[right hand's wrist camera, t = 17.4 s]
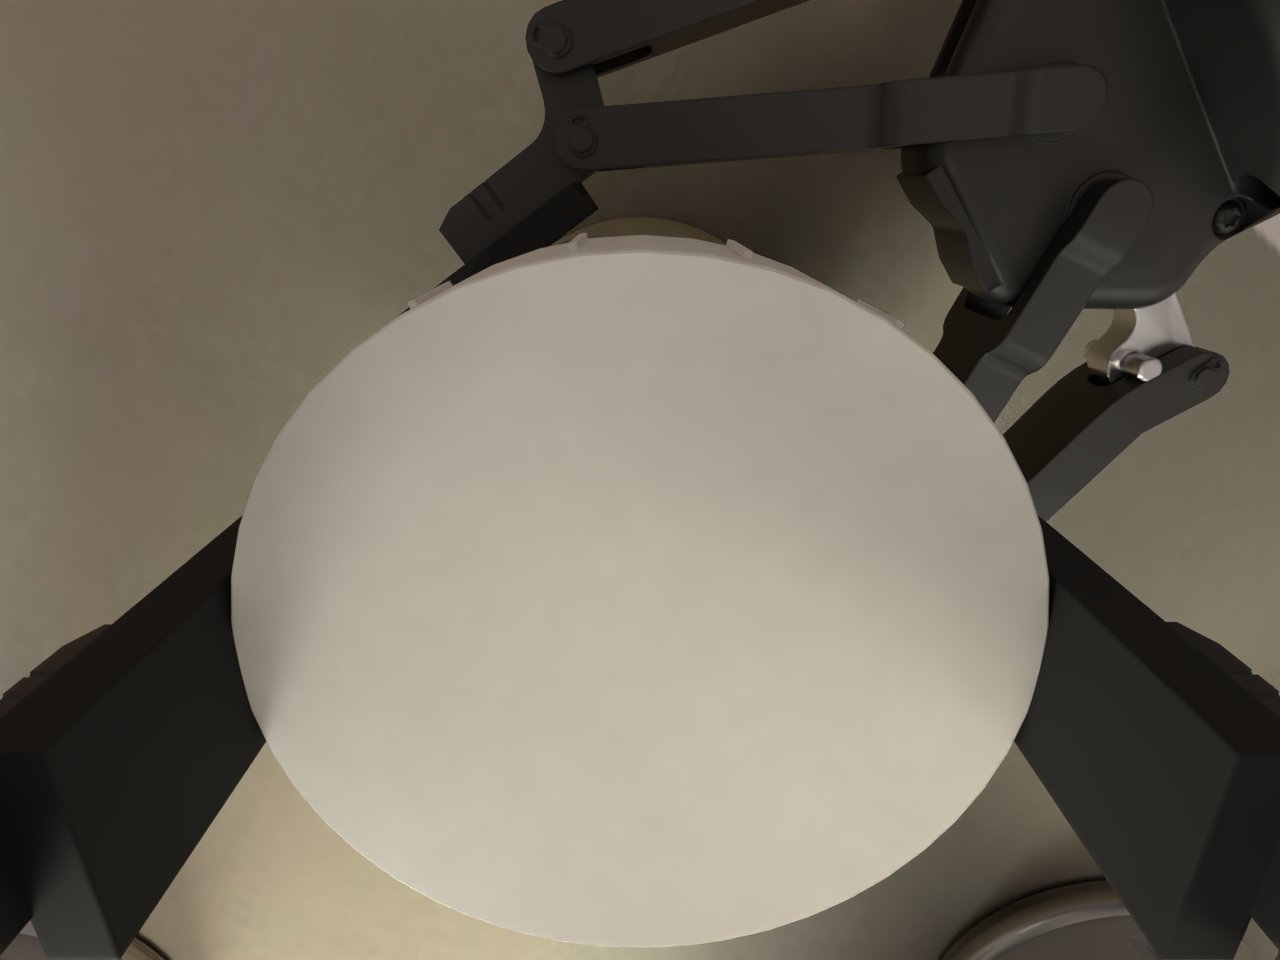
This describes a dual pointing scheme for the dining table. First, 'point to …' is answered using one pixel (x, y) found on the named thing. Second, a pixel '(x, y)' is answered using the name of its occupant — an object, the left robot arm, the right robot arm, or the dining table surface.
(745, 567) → the lid
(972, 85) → the left robot arm
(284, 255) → the dining table surface
